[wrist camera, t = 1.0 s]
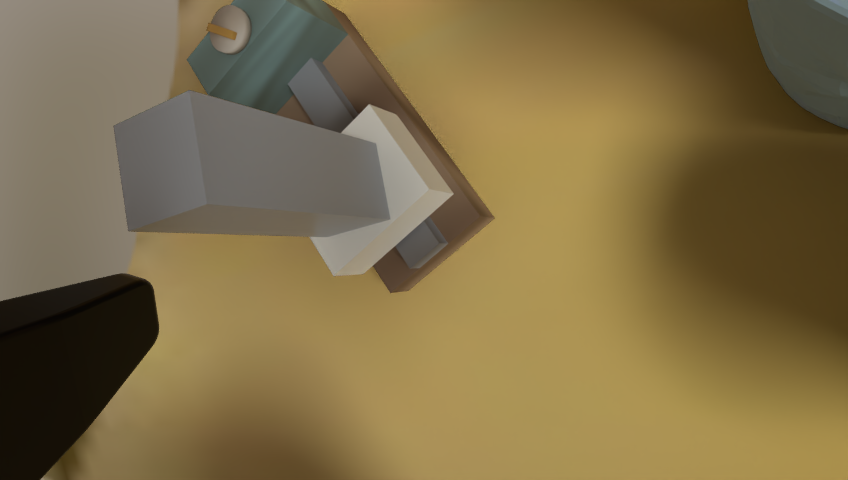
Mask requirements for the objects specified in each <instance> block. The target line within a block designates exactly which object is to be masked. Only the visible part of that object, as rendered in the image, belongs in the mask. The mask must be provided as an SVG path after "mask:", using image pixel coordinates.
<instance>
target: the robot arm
mask: <svg viewBox="0 0 848 480" xmlns="http://www.w3.org/2000/svg"><path fill="white" fill-rule="evenodd" d="M158 333H159V322H158V315H157V308H156V302H155V295H154V289H153V287H152V285H151V283H150V282H148V281H147V280H145V279H142V278H139V277H136V276H133V275H130V274H116V275H111V276H107V277H103V278H98V279H94V280H90V281H85V282H81V283H77V284H72V285H68V286H64V287H60V288H55V289H51V290H47V291H43V292H39V293H34V294H30V295H25V296H21V297H16V298H12V299H8V300H3V301H0V480H40V479H41V478H42V477H43V476H44V475H45V474H46V473H47V472H48V471H49V470H50V469H51V468H52V467H53V466H54V464H55V463H56V462H57V461H58V460H59V459H60V458H61V457H62V456H63V455H64V454H65V453H66V452H67V451H68V450H69V449H70V447H71V446H72V445H73V444H74V443H75V442H76V441H77V440H78V439H79V438H80V437H81V435H82V434H83V433H84V432H85V431H86V430H87V429H88V427H89V426H90V425H91V424H92V423H93V421H94V420H95V419H96V418H97V416H98V415H99V414H100V413H101V411H102V410H103V409H104V408H105V406H106V405H107V404H108V402H109V401H110V400H111V399H112V397H113V396H114V395H115V394H116V392H117V391H118V390H119V388H120V387H121V386H122V385H123V383H124V382H125V381H126V379H127V378H128V377H129V376H130V374H131V373H132V372H133V370H134V369H135V368H136V367H137V365H138V364H139V363H140V362H141V360H142V359H143V358H144V356H145V355H146V354H147V353H148V351H149V350H150V349H151V347H152V346H153V345H154V343H155V341H156V339H157V337H158Z"/></svg>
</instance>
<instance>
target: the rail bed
mask: <svg viewBox="0 0 848 480" xmlns="http://www.w3.org/2000/svg"><path fill="white" fill-rule="evenodd" d="M207 31H209V32H208V34H207V35H206V36H205V37H204V39H203V40H202V41H201V42H200V44H199V45H198V46H197V48H196V49H195V50H194V51H193V53H192V54H191V55H190V56H189V58H188V59H187V61H188V62H189V64H190V66H191V67H192V69H193V71H194V72H195V74H196V76H197V77H198V79H199V80H200V82H201V84H202V85H203V87H204V89H205V90H206V92H207V94H208V95H210V96H214V97H217V98H221V99H224V100H228V101H231V102H235V103H238V104H241V105H245V106H248V107H252V108H255V109H259V110H262V111H266V112H269V113H273V114H276V115H278V116H282V117H285V118H289V119H293V120H296V121H300V122H303V123H307V124H310V125H314V126H317V127H321V128H324V129H328V130H331V131H335V132H338V133H341V132H342V131H343V130H344V129H345V128H346V127H347V126H348V125H349V124H350V123H351V122H352V121H353V120H354V119H355V118H356V117H357V116H358V115H359V114H360V113H361V112H362V111H363V110H364V109H365V108H366V107H367V106H368V105H369V104H370V105H373V106H375V107H378V108H381V109H383V110H386V111H388V112H391V113H394V114H396V115H397V116H398V117H399V118H400V120H401V121H402V123H403V124H404V125H405V127H406V128H407V130H408V131H409V132H410V134H411V135H412V136H413V138H414V139H415V141H416V142H417V143H418V145H419V146H420V148H421V149H422V150H423V152H424V153H425V155H426V156H427V157H428V159H429V160H430V161H431V163H432V164H433V166H434V167H435V168H436V170H437V171H438V173H439V174H440V175H441V177H442V178H443V180H444V181H445V182H446V184H447V185H448V186H449V188H450V189H451V191H452V192H453V193H454V194H453V195H452V196H451V197H450V198H449V199H447V200H446V201H445V202H444V203H443V204H442V205H441V206H440V207H438V208H437V209H436V210H435V211H434V212H433V213H432V214H431V215H429V216H428V217H427V218H426V219H425V220H424V221H423V222H422V223H420V224H419V225H418V226H417V227H416V228H415V229H414V230H413V231H411V232H410V233H409V234H408V235H407V236H406V237H405V238H403V239H402V240H401V241H400V242H399V243H398V244H397V245H396V246H394V247H393V248H392V249H391V250H390V251H389V252H388V253H387V254H385V255H384V256H383V257H382V258H381V259H380V260H379V261H378V262H376V263H375V264H374V265H373V267H374V268H375V270H376V271H377V273H378V274H379V276H380V277H381V279H382V281H383V282H384V284H385V285H386V287H387V288H388V290H389V291H390V293H394V292H402V291H408V290H410V289H411V288H412V287H413V286H414V285H416V284H417V283H418V282H419V281H420V280H422V279H423V278H424V277H425V276H426V275H428V274H429V273H430V272H431V271H432V270H433V269H435V268H436V267H437V266H438V265H439V264H441V263H442V262H443V261H444V260H445V259H447V258H448V257H449V256H450V255H451V254H453V253H454V252H455V251H456V250H457V249H458V248H460V247H461V246H462V245H463V244H464V243H466V242H467V241H468V240H469V239H470V238H472V237H473V236H474V235H475V234H476V233H478V232H479V231H480V230H481V229H482V228H484V227H485V226H486V225H487V224H488V223H489V222H491V221H492V220H493V219H494V216H493V215H492V214H491V212H490V211H489V210H488V208H487V207H486V206H485V204H484V203H483V202H482V200H481V199H480V197H479V196H478V195H477V193H476V192H475V191H474V189H473V188H472V187H471V185H470V184H469V182H468V181H467V180H466V178H465V177H464V176H463V174H462V173H461V172H460V170H459V169H458V167H457V166H456V165H455V163H454V162H453V161H452V159H451V158H450V157H449V155H448V154H447V152H446V151H445V150H444V148H443V147H442V146H441V144H440V143H439V142H438V140H437V139H436V137H435V136H434V135H433V133H432V132H431V131H430V129H429V128H428V127H427V125H426V124H425V122H424V121H423V120H422V118H421V117H420V116H419V114H418V113H417V112H416V110H415V109H414V107H413V106H412V105H411V103H410V102H409V101H408V99H407V98H406V97H405V95H404V94H403V93H402V91H401V90H400V88H399V87H398V86H397V84H396V83H395V82H394V80H393V79H392V78H391V76H390V75H389V73H388V72H387V71H386V69H385V68H384V67H383V65H382V64H381V63H380V61H379V60H378V58H377V57H376V56H375V54H374V53H373V52H372V50H371V49H370V48H369V46H368V45H367V43H366V42H365V41H364V39H363V38H362V37H361V35H360V34H359V33H358V31H357V30H356V28H355V27H354V26H353V24H352V23H351V22H350V20H349V19H348V18H347V16H346V15H345V14H344V13H342V12H341V11H339V10H337V9H336V8H334V7H332V6H330V5H329V4H327V3H325V2H324V1H322V0H234V1H233V2H232V3H231V5H226V6H224V7H222V8H220V9H219V10H218V11H217V12H216V14H215V15H214V17H213V19H212V22H211V23H208V27H207Z"/></svg>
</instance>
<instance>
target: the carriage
mask: <svg viewBox="0 0 848 480" xmlns="http://www.w3.org/2000/svg"><path fill="white" fill-rule="evenodd" d="M114 132H115V140H116V147H117V154H118V161H119V168H120V175H121V183H122V190H123V197H124V204H125V211H126V218H127V225H128V231H134V232H166V233H200V234H234V235H269V236H303V237H310V239H311V240H312V242H313V243H314V245H315V247H316V248H317V250H318V252H319V253H320V255H321V256H322V258H323V260H324V261H325V263H326V265H327V266H328V268H329V269H330V271H331V273H332V274H333V276H342V275H358V274H364V273H365V272H366V271H367V270H368V269H370V268H371V267H372V266H373V265H374V264H375V263H376V262H378V261H379V260H380V259H381V258H382V257H383V256H384V255H385V254H387V253H388V252H389V251H390V250H391V249H392V248H393V247H394V246H396V245H397V244H398V243H399V242H400V241H401V240H402V239H403V238H405V237H406V236H407V235H408V234H409V233H410V232H411V231H413V230H414V229H415V228H416V227H417V226H418V225H419V224H420V223H422V222H423V221H424V220H425V219H426V218H427V217H428V216H429V215H431V214H432V213H433V212H434V211H435V210H436V209H437V208H438V207H440V206H441V205H442V204H443V203H444V202H445V201H446V200H447V199H449V198H450V197H451V196H452V195H453V194H454V193H453V192H452V191H451V189H450V188H449V186H448V185H447V184H446V182H445V181H444V180H443V178H442V177H441V175H440V174H439V173H438V171H437V170H436V168H435V167H434V166H433V164H432V163H431V161H430V160H429V159H428V157H427V156H426V155H425V153H424V152H423V150H422V149H421V148H420V146H419V145H418V143H417V142H416V141H415V139H414V138H413V136H412V135H411V134H410V132H409V131H408V130H407V128H406V127H405V125H404V124H403V123H402V121H401V120H400V118H399V117H398V116H397V115H396V114H394V113H391V112H388V111H386V110H383V109H381V108H378V107H375V106H373V105H370V104H369V105H368V106H367V107H366V108H365V109H364V110H363V111H362V112H361V113H360V114H359V115H358V116H357V117H356V118H355V119H354V120H353V121H352V122H351V123H350V124H349V125H348V126H347V127H346V128H345V129H344V130H343V131H342V132H341V133H338V132H335V131H331V130H328V129H324V128H321V127H317V126H314V125H310V124H307V123H303V122H300V121H296V120H293V119H289V118H285V117H282V116H278V115H275V114H271V113H268V112H264V111H261V110H257V109H254V108H250V107H247V106H243V105H240V104H236V103H233V102H229V101H226V100H222V99H219V98H215V97H212V96H208V95H205V94H201V93H198V92H194V91H191V90H188V91H186V92H184V93H182V94H180V95H178V96H176V97H174V98H171V99H169V100H167V101H165V102H163V103H161V104H159V105H157V106H154V107H152V108H150V109H148V110H146V111H144V112H142V113H140V114H138V115H135V116H133V117H131V118H129V119H127V120H125V121H123V122H121V123H118V124H116V125H114Z"/></svg>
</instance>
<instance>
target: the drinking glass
mask: <svg viewBox="0 0 848 480" xmlns="http://www.w3.org/2000/svg"><path fill="white" fill-rule="evenodd" d="M748 9H749V11H750V15H751V19H752V23H753V27H754V30H755V33H756V37H757V40H758V43H759V47H760V50H761V52H762V55H763V57H764V59H765V62H766V64H767V67H768V68H769V70H770V71H771V72H772V74H773V75H774V77H775V78H776V79H777V81H778V82H779V84H780V85H781V86H782V88H783V89H784V91H785V92H786V93H787V94H788V95H789V96H790V97H791V98H792V99H793V100H794V101H795V102H797V103H798V104H799V105H800V106H801V107H802V108H804V109H806V110H807V111H809V112H811V113H813V114H814V115H816V116H818V117H819V118H822V119H824V120H826V121H828V122H830V123H833V124H835V125H837V126H840V127H843V128H846V129H848V0H748Z"/></svg>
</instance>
